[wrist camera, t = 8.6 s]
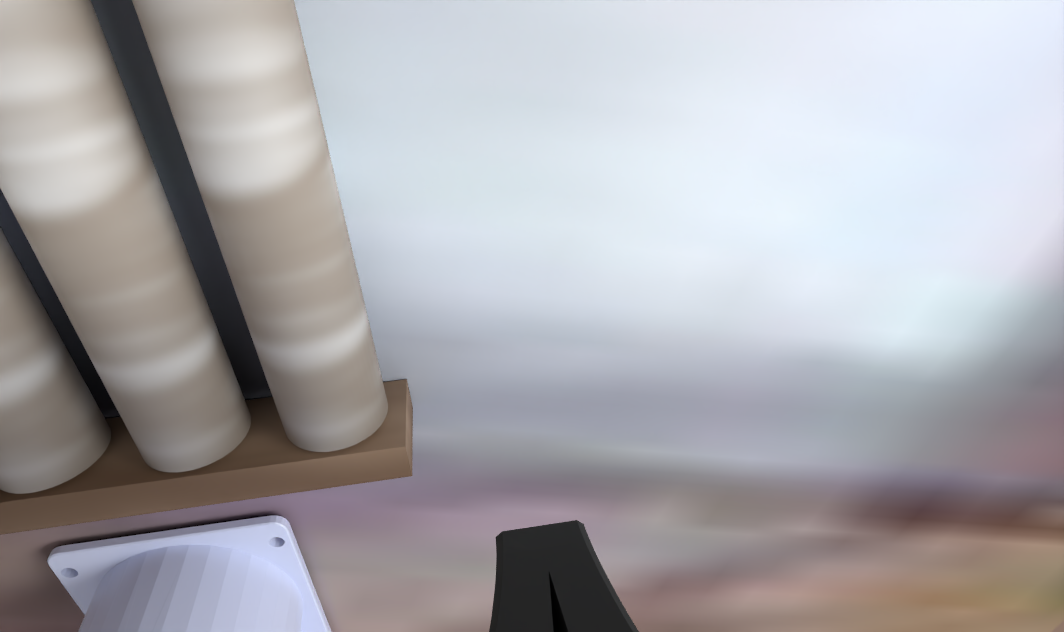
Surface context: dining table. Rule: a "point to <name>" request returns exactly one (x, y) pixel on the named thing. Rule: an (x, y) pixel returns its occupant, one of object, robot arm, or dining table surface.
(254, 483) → the roller track
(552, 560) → the robot arm
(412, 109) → the dining table surface
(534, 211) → the dining table surface
